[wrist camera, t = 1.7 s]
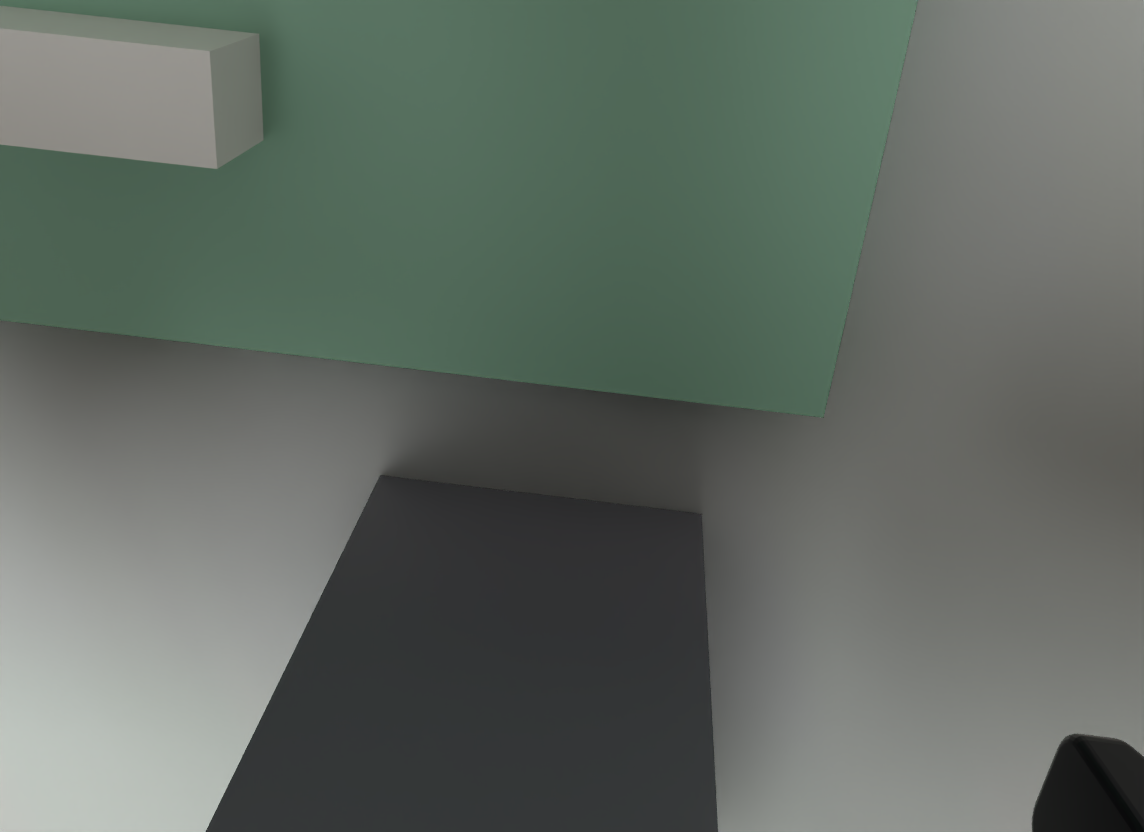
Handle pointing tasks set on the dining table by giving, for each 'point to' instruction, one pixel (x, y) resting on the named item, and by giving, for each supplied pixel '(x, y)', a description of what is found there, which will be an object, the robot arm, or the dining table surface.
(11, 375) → the dining table surface
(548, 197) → the board
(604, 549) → the block
